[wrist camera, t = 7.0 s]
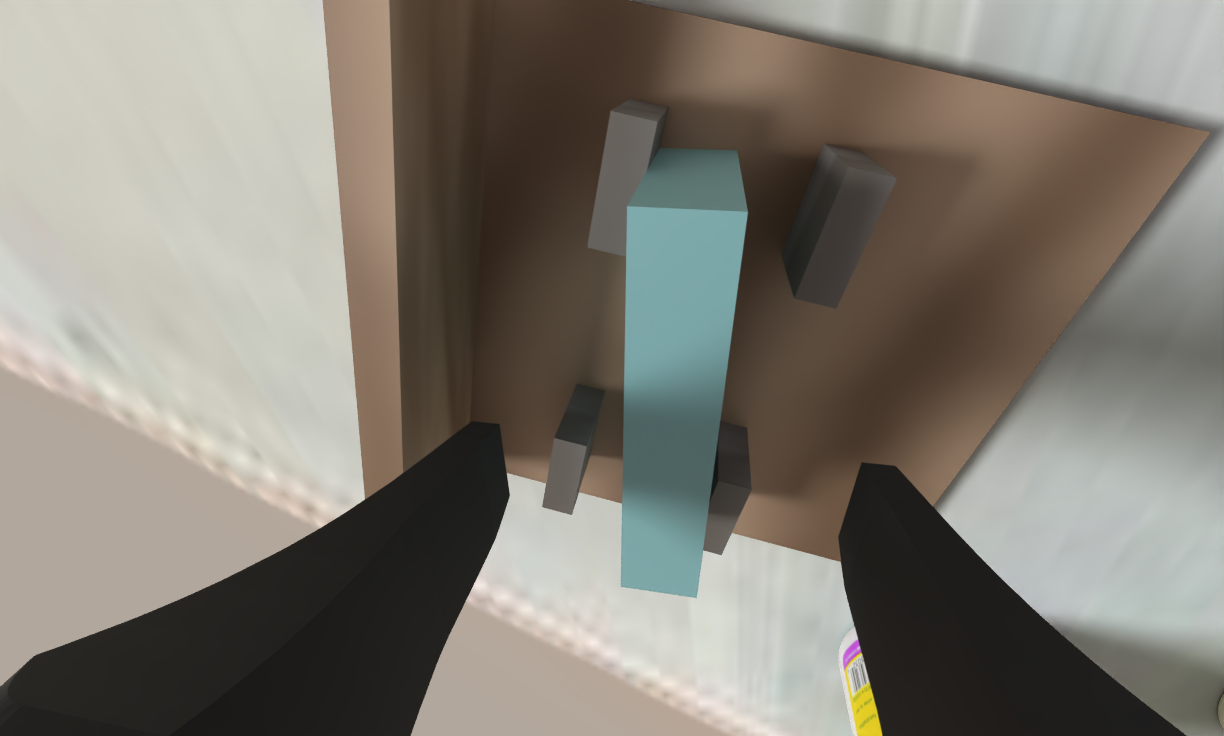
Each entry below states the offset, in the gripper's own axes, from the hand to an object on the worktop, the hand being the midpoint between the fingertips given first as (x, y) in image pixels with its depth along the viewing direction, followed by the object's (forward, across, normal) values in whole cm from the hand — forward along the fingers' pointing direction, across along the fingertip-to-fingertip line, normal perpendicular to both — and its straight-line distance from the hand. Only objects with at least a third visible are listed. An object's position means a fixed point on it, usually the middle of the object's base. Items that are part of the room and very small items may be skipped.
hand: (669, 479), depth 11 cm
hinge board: (+8, -1, 0) cm, 8 cm away
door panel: (+7, 0, 0) cm, 7 cm away
